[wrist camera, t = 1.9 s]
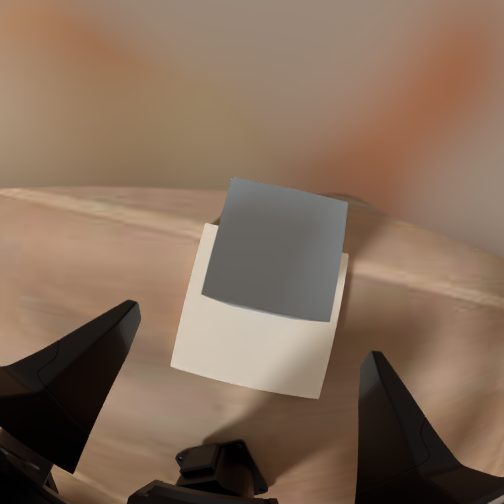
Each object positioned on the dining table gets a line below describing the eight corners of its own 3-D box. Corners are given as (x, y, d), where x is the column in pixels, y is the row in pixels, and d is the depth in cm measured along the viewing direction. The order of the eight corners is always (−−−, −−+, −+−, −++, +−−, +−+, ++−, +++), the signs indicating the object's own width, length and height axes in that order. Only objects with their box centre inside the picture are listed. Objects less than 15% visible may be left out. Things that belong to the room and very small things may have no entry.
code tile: (316, 395, 20) (318, 399, 19) (173, 364, 21) (170, 366, 20) (345, 256, 23) (349, 254, 22) (207, 226, 24) (205, 223, 23)
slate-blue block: (293, 319, 21) (329, 322, 10) (229, 305, 21) (200, 294, 10) (305, 256, 22) (348, 202, 11) (244, 243, 22) (232, 177, 11)
